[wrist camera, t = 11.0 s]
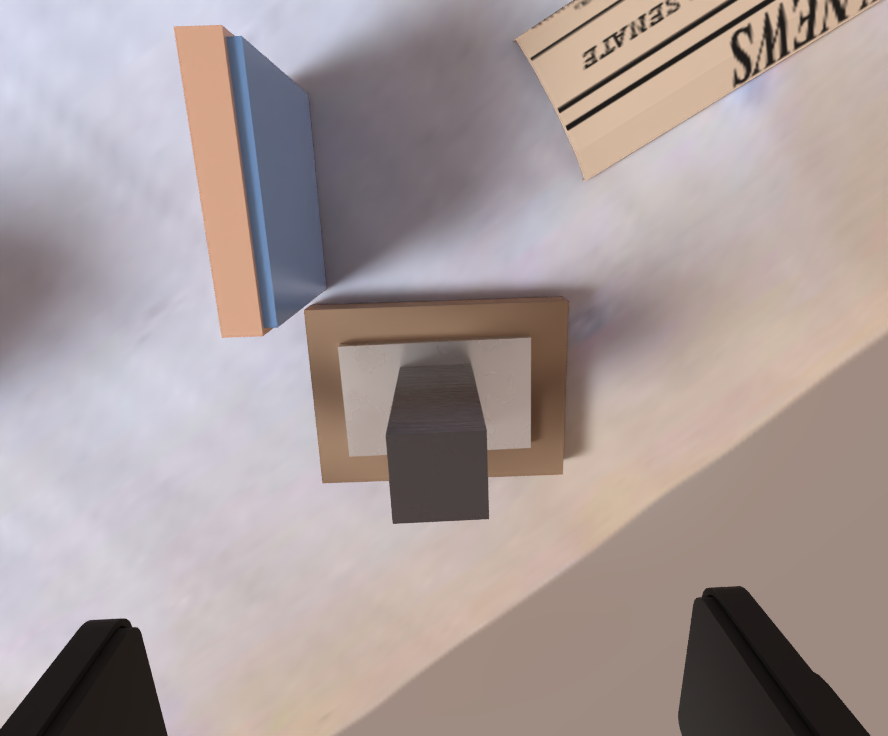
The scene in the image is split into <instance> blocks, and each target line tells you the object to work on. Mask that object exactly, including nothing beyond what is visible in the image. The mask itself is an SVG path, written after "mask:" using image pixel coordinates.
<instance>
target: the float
mask: <svg viewBox="0 0 888 736" xmlns="http://www.w3.org/2000/svg"><path fill="white" fill-rule="evenodd" d="M338 353H339V363H340V372H341V382H342V391H343V401H344V410H345V420H346V429H347V439H348V448H349V457H353V456H374V455H387V459H388V471H389V483H390V495H391V508H392V520H393V524H397V523H418V522H438V521H459V520H479V519H489V500H488V458H487V450H498V449H518V448H531V337H530V336H529V335H515V336H494V337H473V338H452V339H431V340H410V341H389V342H368V343H347V344H339V346H338Z"/></svg>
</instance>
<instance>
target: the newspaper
mask: <svg viewBox="0 0 888 736" xmlns="http://www.w3.org/2000/svg"><path fill="white" fill-rule="evenodd" d="M879 1H881V0H573V1H571V2H570V3H568V4H567V5H565V6H564V7H562V8H561V9H559V10H558V11H556V12H555V13H553V14H552V15H550V16H549V17H547V18H546V19H544V20H543V21H541V22H540V23H538V24H537V25H535V26H534V27H532V28H531V29H529V30H528V31H526V32H525V33H523V34H522V35H520V36H519V37H517V38H516V39H515V40H514V41H517V43H518V44H519V46H520V47H521V49H522V51H523V52H524V54H525V56H526V57H527V59H528V61H529V62H530V64H531V66H532V68H533V69H534V71H535V73H536V75H537V77H538V79H539V81H540V82H541V84H542V86H543V88H544V90H545V92H546V94H547V95H548V97H549V99H550V101H551V103H552V105H553V107H554V109H555V111H556V113H557V115H558V117H559V120H560V122H561V124H562V126H563V128H564V130H565V133H566V135H567V137H568V139H569V141H570V143H571V146H572V148H573V150H574V152H575V155H576V157H577V160H578V163H579V166H580V168H581V171H582V174H583V176H584V179H583V181H587V180H588V179H590V178H592V177H593V176H595V175H596V174H598V173H600V172H601V171H603V170H605V169H606V168H608V167H609V166H611V165H613V164H614V163H616V162H618V161H619V160H621V159H623V158H624V157H626V156H627V155H629V154H631V153H632V152H634V151H636V150H637V149H639V148H641V147H642V146H644V145H645V144H647V143H649V142H650V141H652V140H654V139H655V138H657V137H658V136H660V135H662V134H663V133H665V132H667V131H668V130H670V129H672V128H673V127H675V126H676V125H678V124H680V123H681V122H683V121H685V120H686V119H688V118H690V117H691V116H693V115H694V114H696V113H698V112H699V111H701V110H703V109H704V108H706V107H707V106H709V105H711V104H712V103H714V102H716V101H717V100H719V99H721V98H722V97H724V96H725V95H727V94H729V93H730V92H732V91H734V90H735V89H737V88H738V87H740V86H742V85H743V84H745V83H747V82H748V81H750V80H752V79H753V78H755V77H756V76H758V75H760V74H761V73H763V72H765V71H766V70H768V69H770V68H771V67H773V66H774V65H776V64H778V63H779V62H781V61H783V60H784V59H786V58H787V57H789V56H791V55H792V54H794V53H796V52H797V51H799V50H801V49H802V48H804V47H805V46H807V45H809V44H810V43H812V42H814V41H815V40H817V39H818V38H820V37H822V36H823V35H825V34H827V33H828V32H830V31H832V30H833V29H835V28H836V27H838V26H840V25H841V24H843V23H845V22H846V21H848V20H850V19H851V18H853V17H854V16H856V15H858V14H859V13H861V12H863V11H864V10H866V9H867V8H869V7H871V6H872V5H874V4H876V3H877V2H879ZM514 41H513V42H514Z"/></svg>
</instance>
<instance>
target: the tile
mask: <svg viewBox="0 0 888 736" xmlns="http://www.w3.org/2000/svg"><path fill="white" fill-rule="evenodd" d="M174 31H175V38H176V44H177V51H178V57H179V64H180V70H181V77H182V83H183V90H184V96H185V103H186V109H187V116H188V122H189V129H190V135H191V141H192V148H193V154H194V161H195V167H196V174H197V180H198V187H199V193H200V200H201V206H202V213H203V219H204V226H205V232H206V239H207V245H208V251H209V258H210V264H211V271H212V277H213V284H214V290H215V297H216V303H217V310H218V316H219V323H220V329H221V336H222V338H225V337H254V336H264V335H265V334H266V333H268V332H269V331H270V330H272V329H273V328H278V327H279V326H280V325H281V324H283V323H284V322H285V321H287V320H288V319H289V318H290V317H292V316H293V315H294V314H295V313H297V312H298V311H299V310H301V309H302V308H303V307H304V306H306V305H307V304H308V303H309V302H311V301H312V300H313V299H314V298H316V297H317V296H318V295H320V294H321V293H322V292H323V291H325V290H326V289H327V288H326V277H325V267H324V256H323V245H322V235H321V224H320V214H319V203H318V193H317V182H316V171H315V161H314V150H313V140H312V129H311V118H310V108H309V97H308V93H307V92H306V91H304V90H303V89H302V88H301V87H300V86H299V85H297V84H296V83H295V82H294V81H293V80H292V79H291V78H289V77H288V76H287V75H286V74H285V73H284V72H282V71H281V70H280V69H279V68H278V67H277V66H276V65H274V64H273V63H272V62H271V61H270V60H269V59H268V58H266V57H265V56H264V55H263V54H262V53H261V52H259V51H258V50H257V49H256V48H255V47H254V46H253V45H251V44H250V43H249V42H248V41H247V40H246V39H244V38H243V37H242V36H234V35H233V34H232V33H231V32H229V31H228V30H227V29H226V28H225V27H223V26H222V25H209V26H177V27H174Z"/></svg>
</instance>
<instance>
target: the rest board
mask: <svg viewBox="0 0 888 736" xmlns="http://www.w3.org/2000/svg"><path fill="white" fill-rule="evenodd" d="M568 311H569V301H568V300H566V299H565V298H564V297H534V298H505V299H476V300H447V301H417V302H388V303H359V304H330V305H310V306H309V307H307V308H306V309H305V310H304V315H305V325H306V334H307V343H308V352H309V362H310V371H311V380H312V389H313V399H314V408H315V417H316V427H317V436H318V445H319V454H320V464H321V473H322V482H323V483H341V482H368V481H389V471H388V459H387V455H374V456H353V457H349V448H348V439H347V429H346V420H345V410H344V401H343V391H342V382H341V372H340V363H339V353H338V346H339V344H347V343H368V342H389V341H410V340H431V339H452V338H473V337H494V336H515V335H529V336H530V337H531V448H518V449H498V450H487V458H488V477H504V476H532V475H559V474H563V453H564V424H565V396H566V367H567V339H568Z"/></svg>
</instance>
